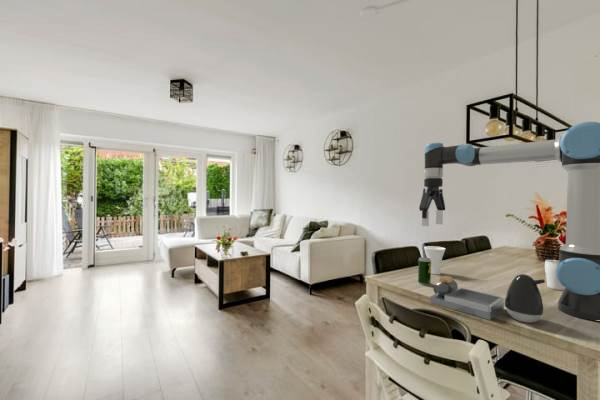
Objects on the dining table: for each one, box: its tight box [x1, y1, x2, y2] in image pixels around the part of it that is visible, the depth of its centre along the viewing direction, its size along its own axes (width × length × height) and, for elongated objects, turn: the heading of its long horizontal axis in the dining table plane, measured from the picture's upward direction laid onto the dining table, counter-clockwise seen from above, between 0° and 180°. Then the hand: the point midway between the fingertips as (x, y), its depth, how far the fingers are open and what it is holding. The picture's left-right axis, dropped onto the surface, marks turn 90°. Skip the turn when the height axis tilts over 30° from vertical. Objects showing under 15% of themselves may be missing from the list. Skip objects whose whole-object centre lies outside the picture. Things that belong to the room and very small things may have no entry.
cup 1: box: [423, 245, 446, 275], centre depth 154 cm, size 10×10×14 cm
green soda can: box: [417, 256, 432, 286], centre depth 135 cm, size 5×5×12 cm
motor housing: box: [429, 275, 505, 321], centre depth 108 cm, size 20×15×9 cm
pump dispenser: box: [504, 273, 546, 324], centre depth 96 cm, size 10×10×15 cm
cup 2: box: [544, 259, 565, 291], centre depth 131 cm, size 9×9×12 cm
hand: (432, 225), depth 131 cm, fingers open, 13 cm apart
